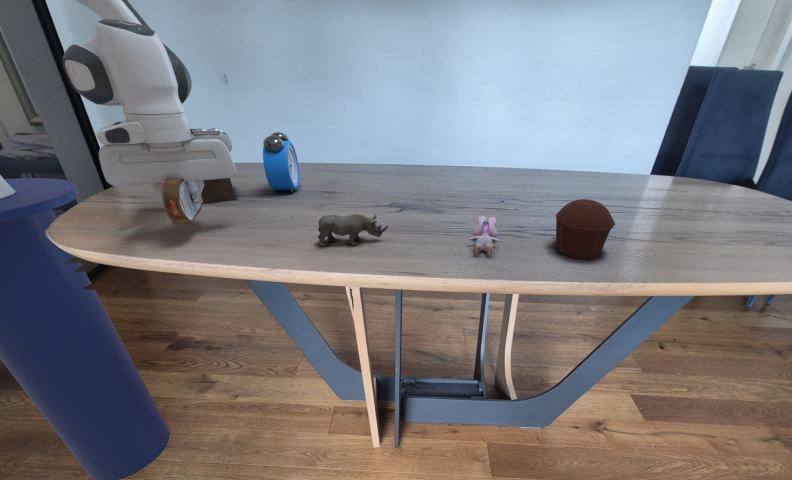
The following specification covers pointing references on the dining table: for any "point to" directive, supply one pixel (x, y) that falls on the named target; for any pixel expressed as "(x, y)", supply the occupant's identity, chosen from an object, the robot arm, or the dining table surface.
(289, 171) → the alarm clock
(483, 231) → the rabbit figure
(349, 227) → the rhino figurine
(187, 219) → the tin
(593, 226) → the muffin
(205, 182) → the walnut block
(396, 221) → the dining table surface
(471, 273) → the dining table surface
